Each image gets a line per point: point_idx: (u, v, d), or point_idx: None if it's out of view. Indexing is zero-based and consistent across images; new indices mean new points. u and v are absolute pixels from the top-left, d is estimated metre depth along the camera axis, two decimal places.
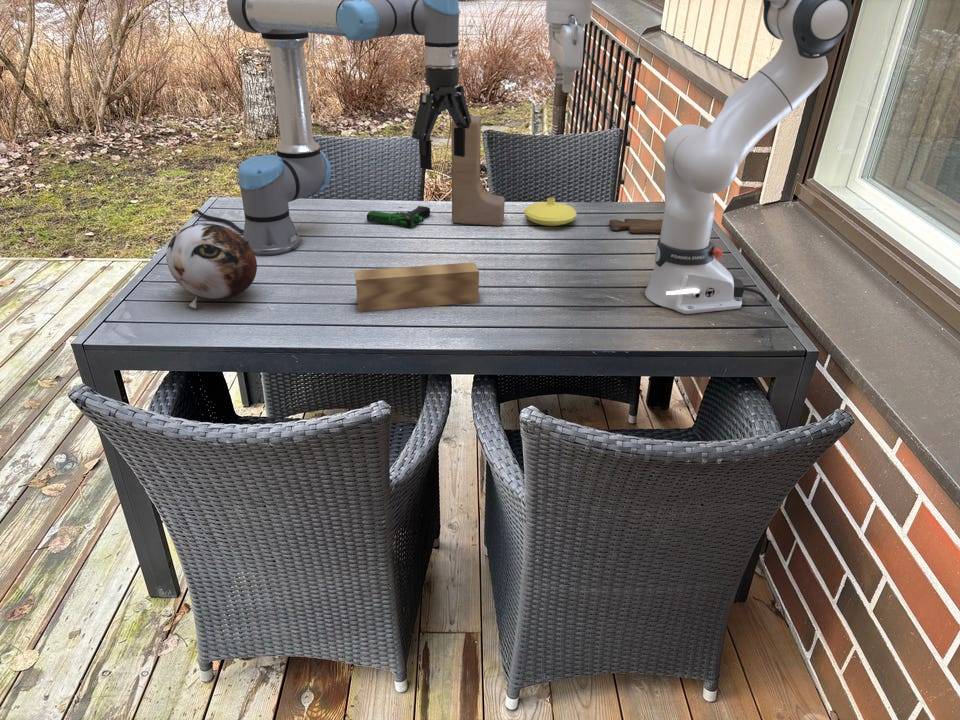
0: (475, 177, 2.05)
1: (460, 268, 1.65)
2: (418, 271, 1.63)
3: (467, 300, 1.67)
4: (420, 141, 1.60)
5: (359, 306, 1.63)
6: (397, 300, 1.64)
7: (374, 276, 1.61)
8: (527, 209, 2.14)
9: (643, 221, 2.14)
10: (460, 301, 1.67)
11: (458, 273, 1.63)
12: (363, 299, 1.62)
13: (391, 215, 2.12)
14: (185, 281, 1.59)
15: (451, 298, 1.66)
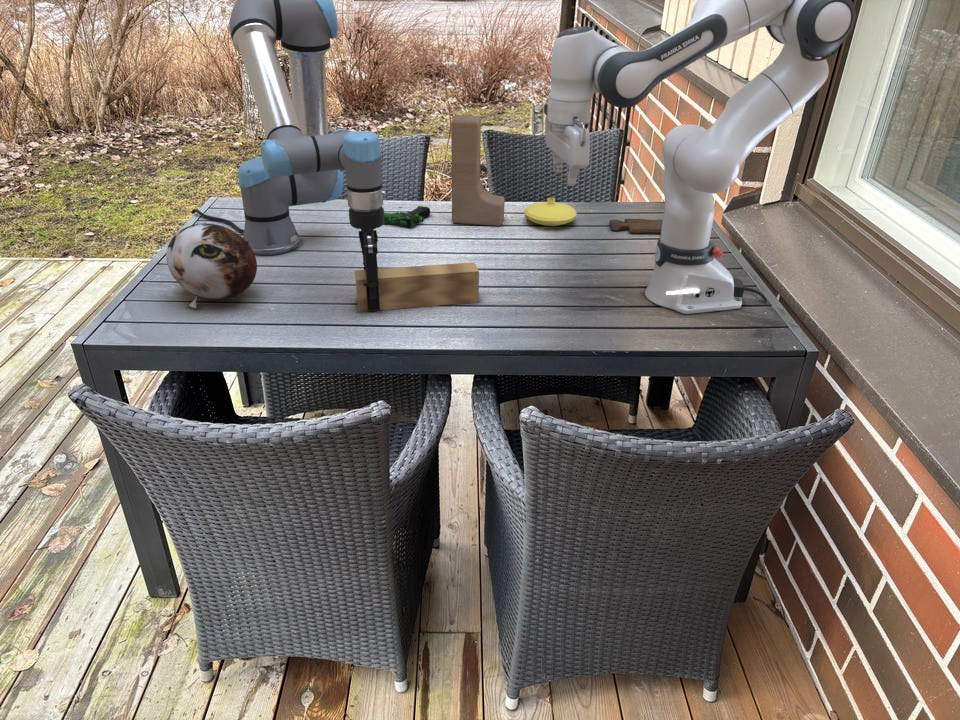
0: (475, 177, 2.05)
1: (460, 268, 1.65)
2: (418, 271, 1.63)
3: (467, 300, 1.67)
4: (371, 287, 1.59)
5: (359, 306, 1.63)
6: (397, 300, 1.64)
7: None
8: (527, 209, 2.14)
9: (643, 221, 2.14)
10: (460, 301, 1.67)
11: (458, 273, 1.63)
12: (363, 299, 1.62)
13: (391, 215, 2.12)
14: (185, 281, 1.59)
15: (451, 298, 1.66)
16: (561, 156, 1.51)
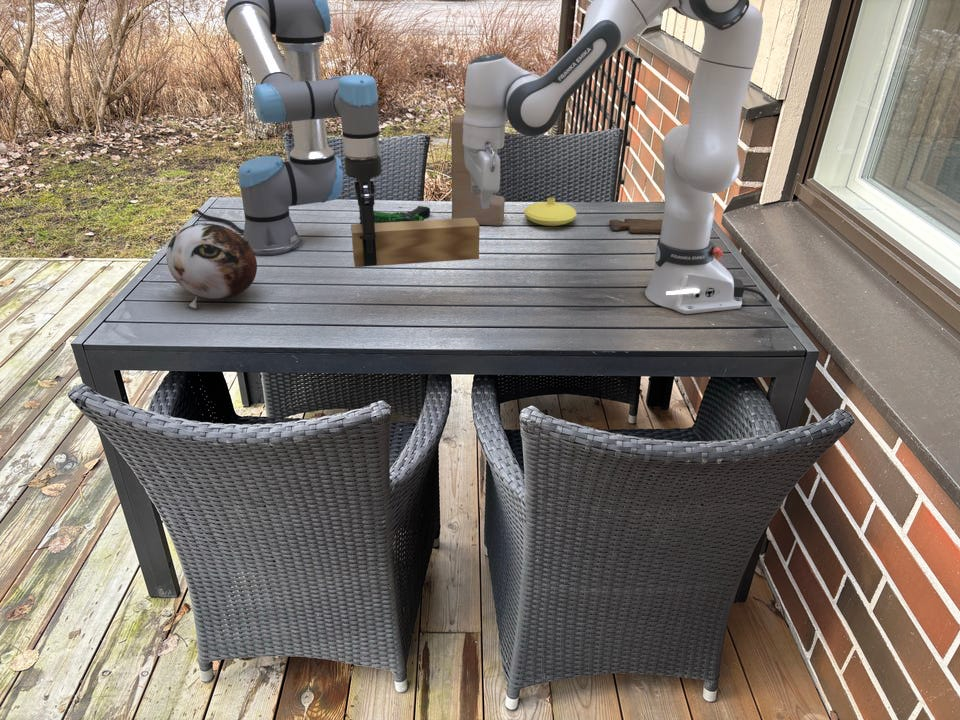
0: None
1: (460, 223, 1.60)
2: (416, 225, 1.58)
3: (467, 257, 1.62)
4: (368, 240, 1.53)
5: (355, 261, 1.57)
6: (394, 255, 1.58)
7: None
8: (527, 209, 2.14)
9: (643, 221, 2.14)
10: (459, 257, 1.61)
11: (458, 227, 1.58)
12: (360, 254, 1.56)
13: (391, 215, 2.12)
14: (185, 281, 1.59)
15: (451, 253, 1.61)
16: (475, 179, 1.53)
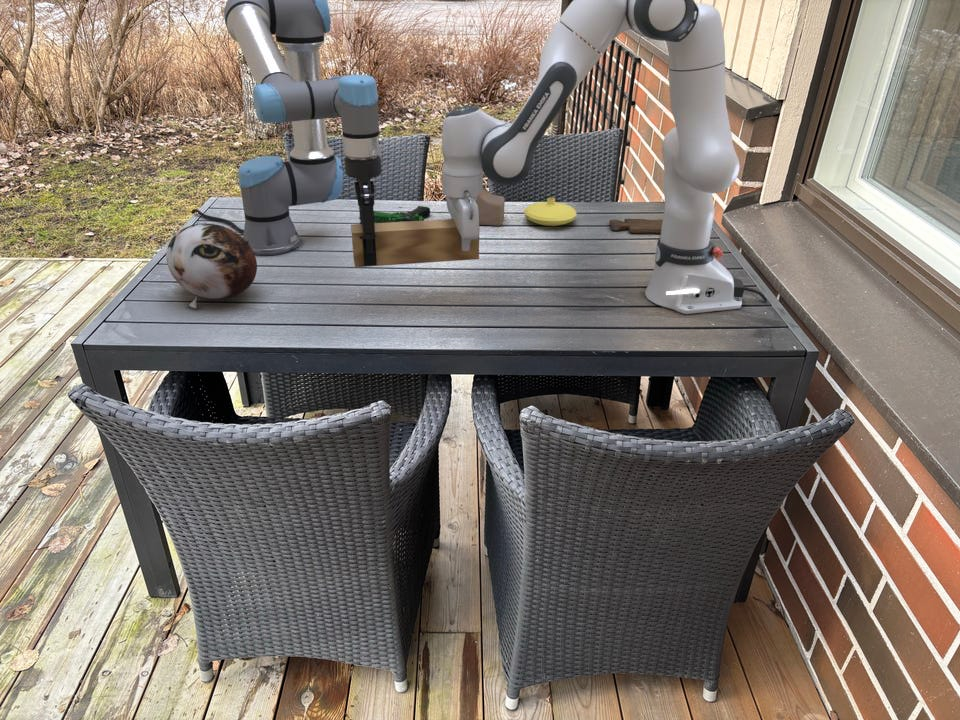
0: None
1: None
2: (416, 225, 1.58)
3: (467, 257, 1.62)
4: (368, 240, 1.53)
5: (355, 262, 1.57)
6: (394, 255, 1.58)
7: None
8: (527, 209, 2.14)
9: (643, 221, 2.14)
10: (459, 257, 1.61)
11: None
12: (360, 254, 1.56)
13: (391, 215, 2.12)
14: (185, 281, 1.59)
15: (451, 254, 1.61)
16: (456, 225, 1.58)
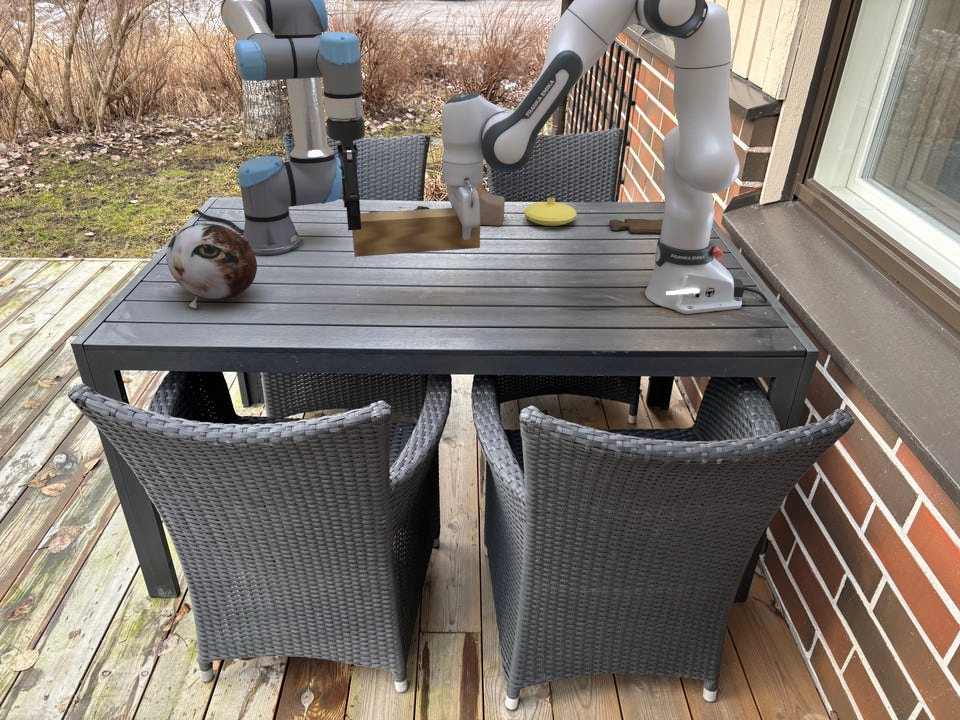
0: None
1: None
2: (417, 214, 1.57)
3: (468, 246, 1.60)
4: (352, 202, 1.45)
5: (355, 251, 1.56)
6: (394, 244, 1.57)
7: (370, 218, 1.54)
8: (527, 209, 2.14)
9: (643, 221, 2.14)
10: (460, 246, 1.60)
11: None
12: (360, 243, 1.55)
13: None
14: (185, 281, 1.59)
15: (452, 242, 1.59)
16: (457, 214, 1.56)
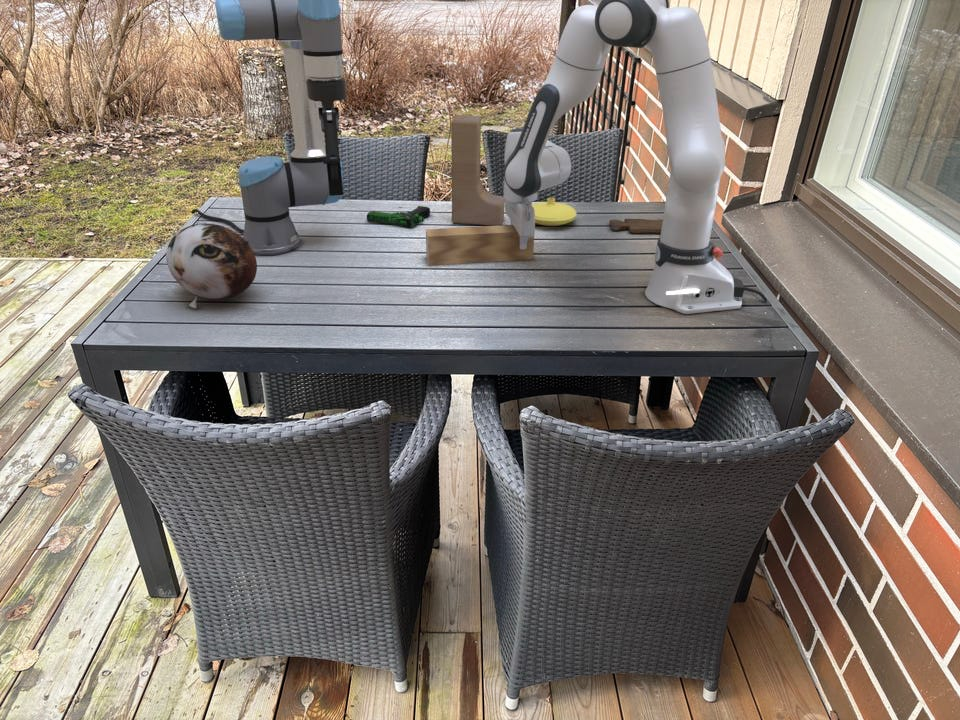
0: (475, 177, 2.05)
1: None
2: (481, 230, 1.87)
3: (523, 257, 1.90)
4: (332, 165, 1.40)
5: (429, 260, 1.86)
6: (462, 255, 1.87)
7: (443, 233, 1.84)
8: None
9: (643, 221, 2.14)
10: (516, 257, 1.90)
11: (516, 232, 1.86)
12: (433, 254, 1.85)
13: (391, 215, 2.12)
14: (185, 281, 1.59)
15: (509, 254, 1.89)
16: (514, 226, 1.86)
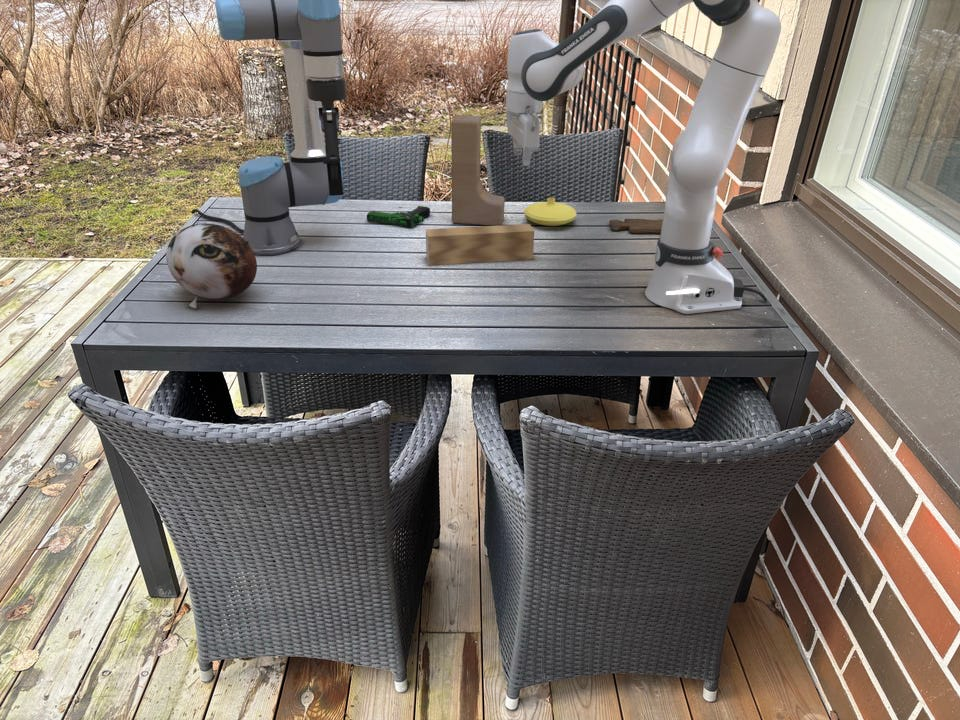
0: (475, 177, 2.05)
1: (517, 228, 1.88)
2: (481, 230, 1.87)
3: (523, 257, 1.90)
4: (332, 165, 1.40)
5: (429, 260, 1.86)
6: (462, 255, 1.87)
7: (443, 233, 1.84)
8: (527, 209, 2.14)
9: (643, 221, 2.14)
10: (516, 257, 1.90)
11: (516, 232, 1.86)
12: (433, 254, 1.85)
13: (391, 215, 2.12)
14: (185, 281, 1.59)
15: (509, 254, 1.89)
16: (517, 140, 1.74)
